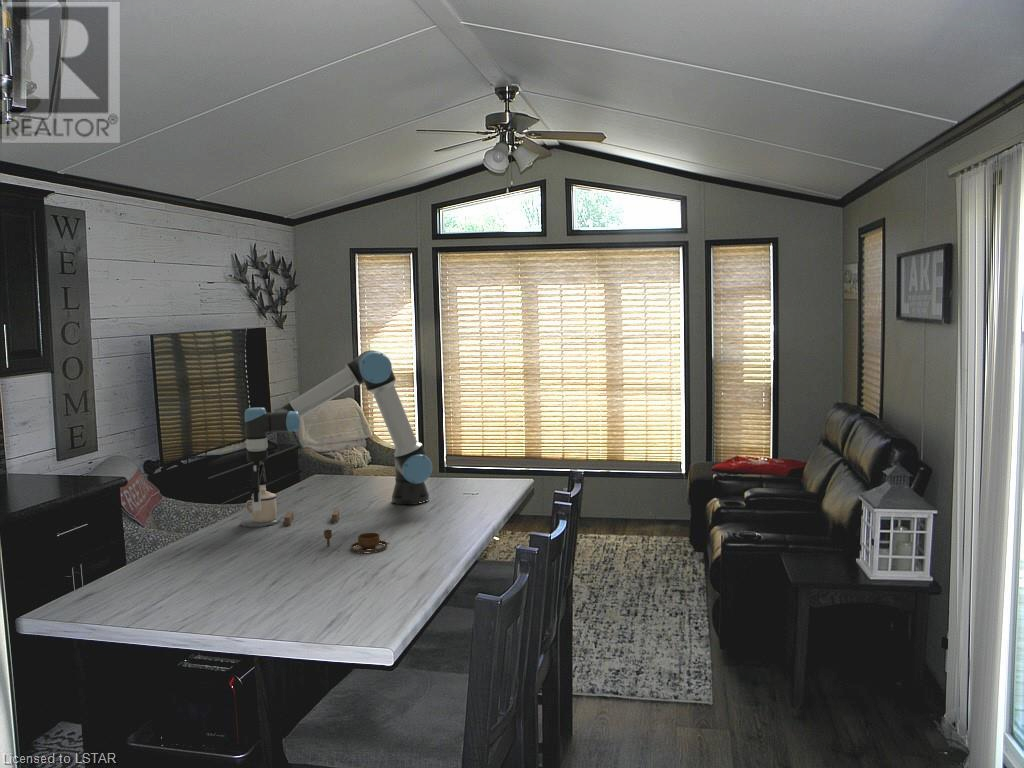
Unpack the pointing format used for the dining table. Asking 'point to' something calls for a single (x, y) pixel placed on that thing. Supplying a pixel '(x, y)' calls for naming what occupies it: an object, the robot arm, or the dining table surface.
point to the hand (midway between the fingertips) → (259, 506)
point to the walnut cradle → (289, 516)
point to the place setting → (362, 541)
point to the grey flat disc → (251, 523)
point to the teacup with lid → (264, 507)
